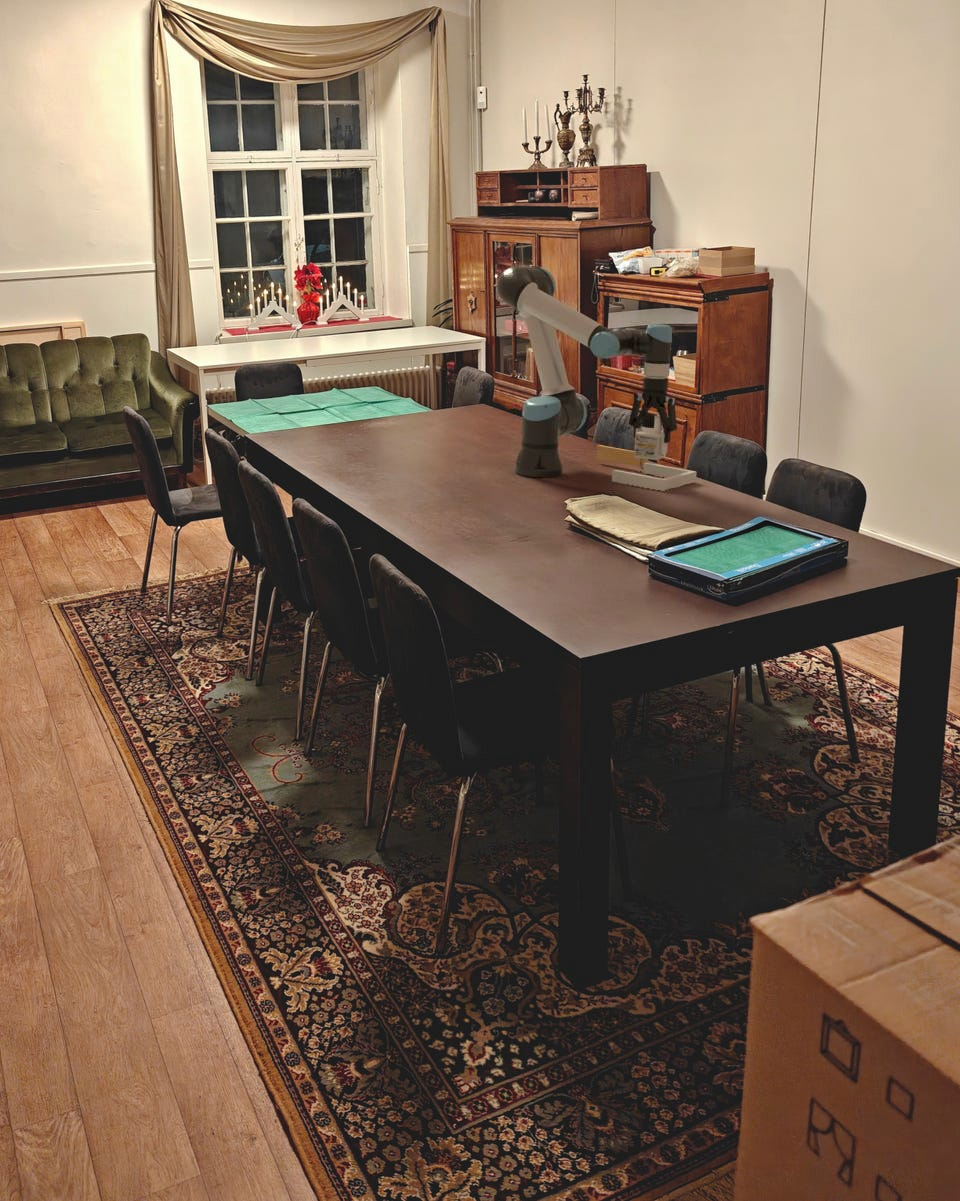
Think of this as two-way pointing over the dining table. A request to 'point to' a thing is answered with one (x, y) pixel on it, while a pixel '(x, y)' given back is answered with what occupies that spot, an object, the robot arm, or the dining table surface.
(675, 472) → the c-shaped frame
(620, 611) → the dining table surface
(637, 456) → the container
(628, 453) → the gate
